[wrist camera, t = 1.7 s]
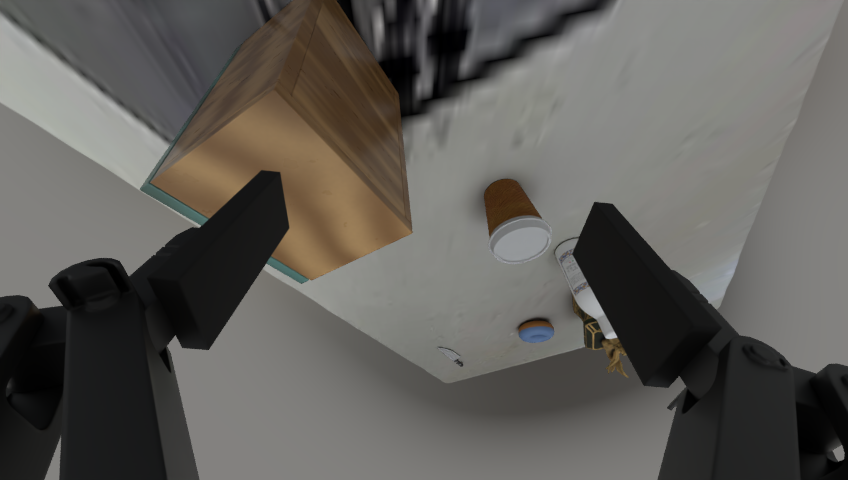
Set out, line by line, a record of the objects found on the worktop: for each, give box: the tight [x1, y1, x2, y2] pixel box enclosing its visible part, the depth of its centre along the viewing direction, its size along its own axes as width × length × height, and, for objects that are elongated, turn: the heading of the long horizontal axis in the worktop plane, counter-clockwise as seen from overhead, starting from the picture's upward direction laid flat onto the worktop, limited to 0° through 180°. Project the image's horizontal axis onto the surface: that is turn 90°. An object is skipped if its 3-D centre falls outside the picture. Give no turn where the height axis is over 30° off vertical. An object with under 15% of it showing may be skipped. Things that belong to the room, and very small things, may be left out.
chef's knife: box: [438, 348, 463, 367], centre depth 110 cm, size 19×1×3 cm
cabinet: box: [150, 0, 413, 280], centre depth 32 cm, size 11×14×24 cm
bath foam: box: [555, 238, 617, 339], centre depth 65 cm, size 7×7×20 cm
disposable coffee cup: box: [484, 179, 552, 264], centre depth 54 cm, size 10×10×12 cm
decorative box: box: [572, 294, 628, 377], centre depth 84 cm, size 20×10×20 cm, turn 22°
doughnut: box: [519, 321, 554, 343], centre depth 98 cm, size 10×10×5 cm
